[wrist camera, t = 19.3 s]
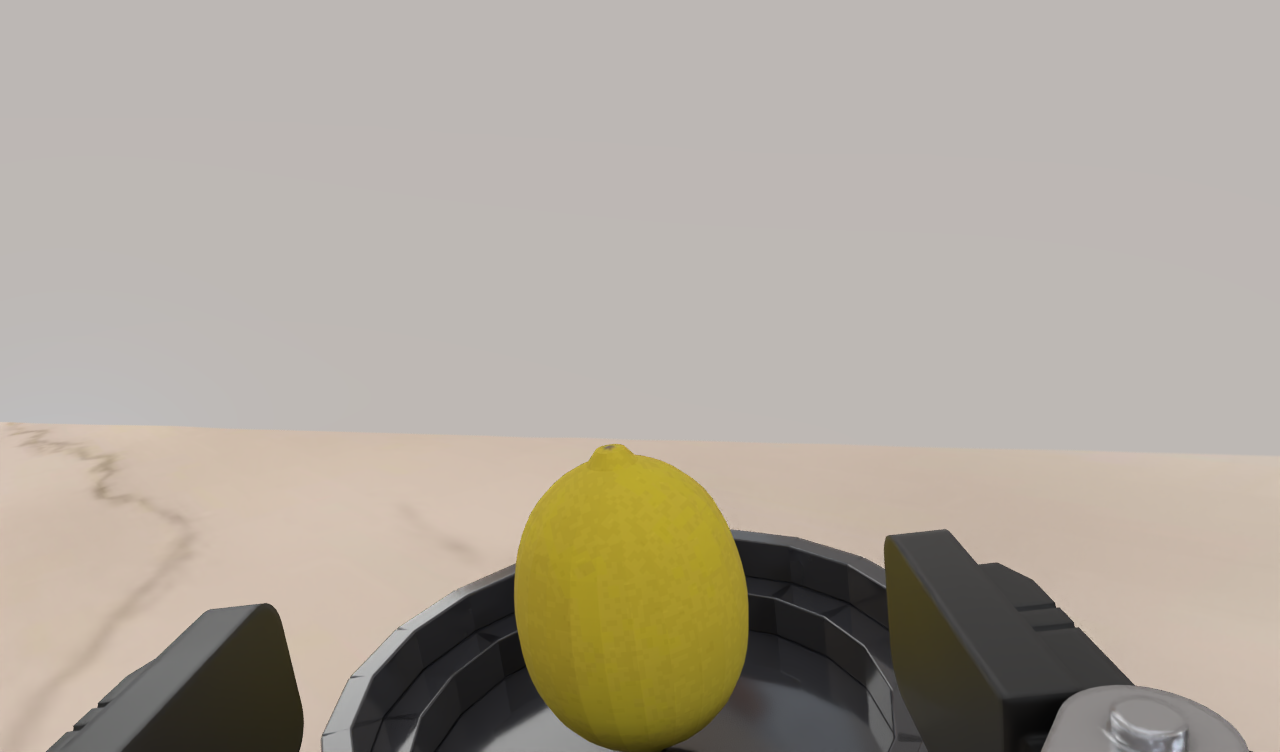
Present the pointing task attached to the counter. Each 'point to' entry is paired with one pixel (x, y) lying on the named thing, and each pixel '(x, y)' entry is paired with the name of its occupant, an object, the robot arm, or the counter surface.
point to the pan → (726, 748)
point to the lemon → (631, 602)
